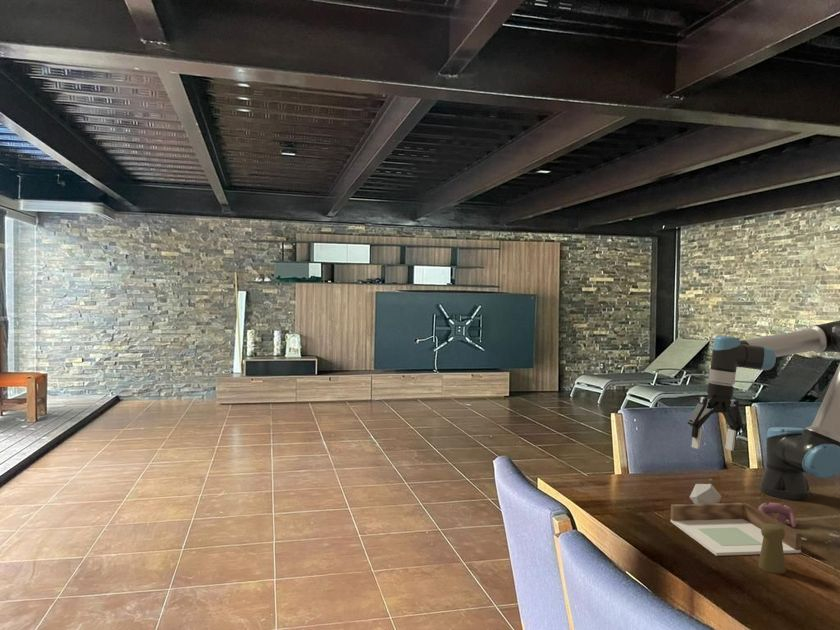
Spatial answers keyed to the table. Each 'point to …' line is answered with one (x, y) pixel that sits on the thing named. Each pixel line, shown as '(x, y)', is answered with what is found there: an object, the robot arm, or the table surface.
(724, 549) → the wooden corner tray
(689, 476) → the table surface
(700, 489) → the die
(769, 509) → the video game controller
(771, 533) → the olive pawn figure
